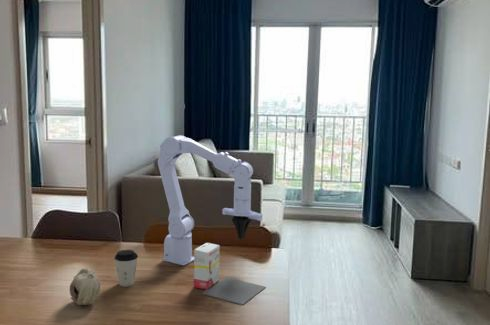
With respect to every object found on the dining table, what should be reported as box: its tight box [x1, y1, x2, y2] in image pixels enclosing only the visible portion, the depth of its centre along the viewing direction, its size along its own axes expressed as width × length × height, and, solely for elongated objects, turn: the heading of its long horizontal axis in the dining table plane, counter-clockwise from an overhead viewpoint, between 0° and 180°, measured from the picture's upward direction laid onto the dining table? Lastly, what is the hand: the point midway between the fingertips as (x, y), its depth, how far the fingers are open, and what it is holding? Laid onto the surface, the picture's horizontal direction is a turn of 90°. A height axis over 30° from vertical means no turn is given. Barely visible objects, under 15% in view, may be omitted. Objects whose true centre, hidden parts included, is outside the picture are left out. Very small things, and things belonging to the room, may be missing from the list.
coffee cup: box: [114, 249, 139, 288], centre depth 141 cm, size 7×7×10 cm
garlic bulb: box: [69, 267, 101, 306], centre depth 127 cm, size 9×8×10 cm
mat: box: [201, 277, 266, 306], centre depth 138 cm, size 14×14×1 cm
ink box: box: [193, 242, 221, 291], centre depth 142 cm, size 9×5×12 cm, turn 157°
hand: (241, 237), depth 156 cm, fingers closed
